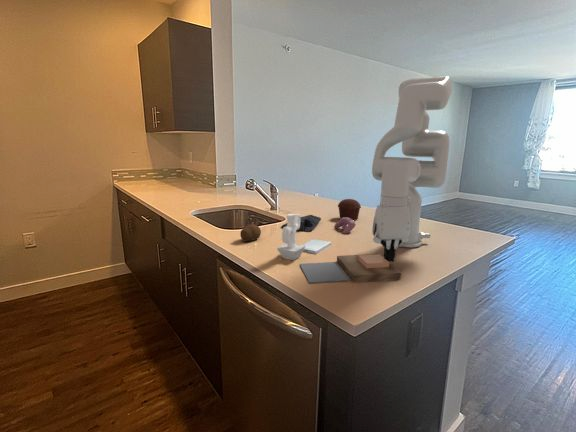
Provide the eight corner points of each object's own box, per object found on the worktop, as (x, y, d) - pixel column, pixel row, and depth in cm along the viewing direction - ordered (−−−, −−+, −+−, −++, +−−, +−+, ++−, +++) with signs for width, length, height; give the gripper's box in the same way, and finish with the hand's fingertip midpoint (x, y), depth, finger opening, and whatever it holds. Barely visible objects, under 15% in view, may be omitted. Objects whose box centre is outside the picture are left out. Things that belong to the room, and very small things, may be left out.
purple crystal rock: (352, 236, 138) (359, 222, 138) (344, 233, 136) (351, 218, 136) (340, 231, 147) (346, 217, 147) (332, 227, 145) (339, 213, 145)
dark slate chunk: (326, 222, 158) (326, 213, 157) (309, 233, 138) (310, 223, 137) (297, 219, 164) (297, 210, 163) (278, 229, 145) (278, 219, 144)
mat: (336, 262, 104) (336, 261, 104) (350, 280, 91) (350, 279, 90) (299, 264, 102) (299, 263, 102) (309, 283, 89) (309, 282, 89)
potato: (236, 241, 126) (235, 226, 125) (251, 235, 134) (251, 221, 133) (249, 244, 123) (248, 228, 121) (264, 238, 131) (264, 223, 129)
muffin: (362, 217, 167) (363, 198, 164) (358, 222, 157) (359, 202, 154) (340, 215, 171) (340, 197, 169) (334, 220, 161) (335, 200, 159)
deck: (377, 259, 107) (377, 253, 107) (400, 279, 92) (401, 272, 91) (336, 261, 105) (337, 255, 105) (353, 282, 90) (354, 275, 89)
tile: (379, 258, 102) (379, 254, 102) (389, 267, 95) (389, 262, 95) (358, 259, 101) (358, 255, 101) (366, 268, 94) (367, 263, 94)
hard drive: (312, 238, 127) (296, 246, 116) (331, 242, 122) (316, 250, 112) (312, 242, 127) (296, 251, 117) (331, 246, 123) (316, 255, 112)
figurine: (275, 259, 107) (274, 215, 104) (289, 251, 115) (289, 210, 112) (294, 263, 103) (294, 218, 100) (307, 254, 111) (307, 212, 108)
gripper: (410, 198, 99) (405, 254, 103) (364, 200, 97) (361, 257, 101) (424, 203, 92) (418, 263, 96) (374, 204, 90) (370, 266, 94)
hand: (389, 260), depth 99 cm, fingers closed
